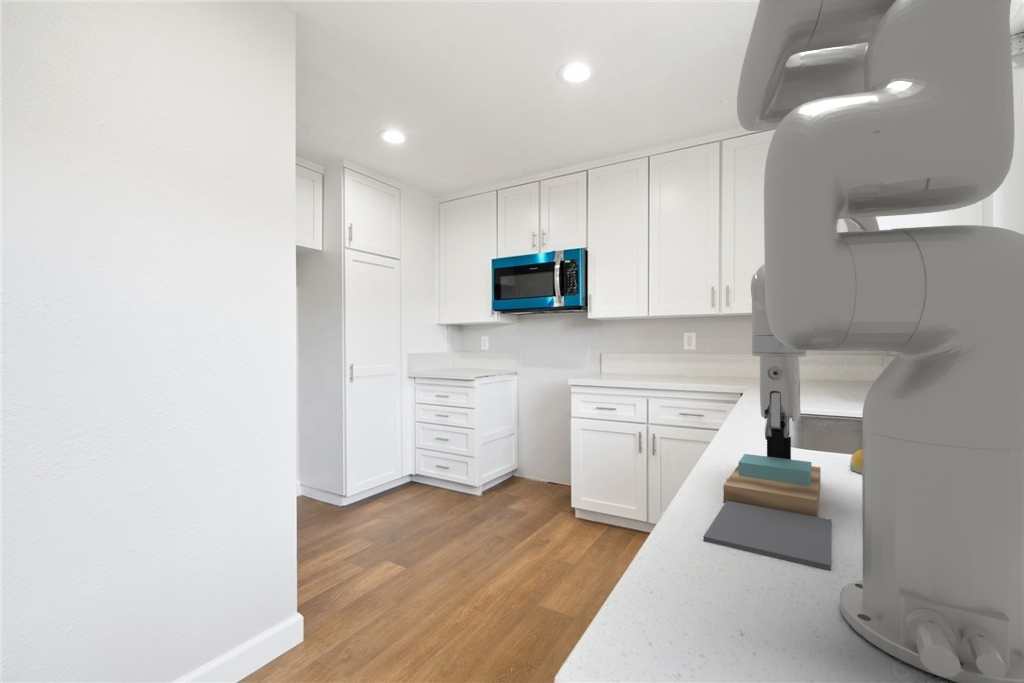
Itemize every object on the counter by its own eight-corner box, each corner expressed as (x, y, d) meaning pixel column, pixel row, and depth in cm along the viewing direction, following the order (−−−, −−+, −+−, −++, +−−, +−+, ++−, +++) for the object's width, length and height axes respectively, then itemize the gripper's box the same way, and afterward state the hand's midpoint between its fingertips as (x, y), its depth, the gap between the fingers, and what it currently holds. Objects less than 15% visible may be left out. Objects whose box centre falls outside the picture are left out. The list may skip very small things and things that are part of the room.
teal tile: (809, 486, 64) (809, 471, 64) (738, 475, 69) (738, 462, 69) (811, 475, 69) (811, 462, 69) (744, 466, 74) (744, 453, 74)
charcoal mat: (830, 570, 46) (830, 565, 46) (703, 540, 53) (703, 536, 53) (831, 523, 57) (831, 519, 57) (726, 504, 64) (726, 500, 64)
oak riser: (817, 519, 59) (817, 499, 59) (723, 502, 65) (723, 484, 65) (820, 482, 73) (820, 467, 73) (744, 471, 80) (744, 457, 80)
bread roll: (919, 485, 73) (919, 459, 73) (849, 475, 78) (849, 451, 78) (915, 472, 79) (915, 449, 79) (851, 464, 85) (851, 442, 85)
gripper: (803, 348, 65) (803, 477, 66) (808, 346, 78) (809, 455, 78) (744, 347, 70) (745, 468, 70) (758, 346, 82) (758, 449, 82)
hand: (778, 461), depth 74 cm, fingers closed
